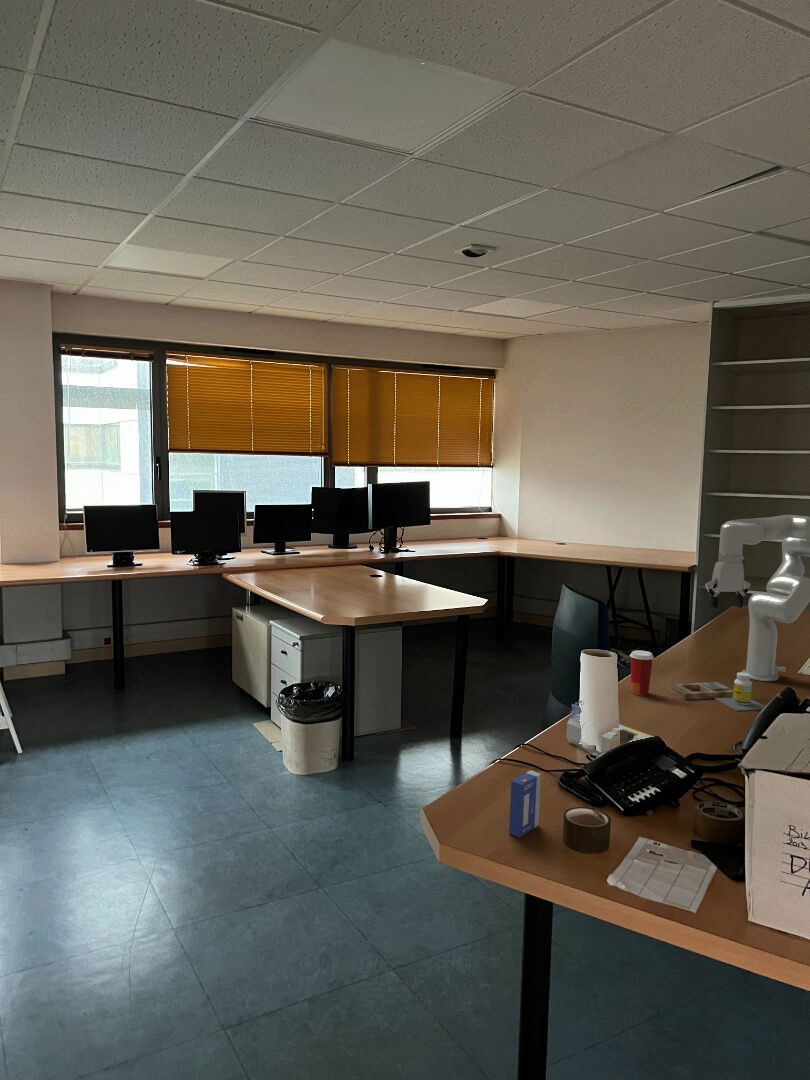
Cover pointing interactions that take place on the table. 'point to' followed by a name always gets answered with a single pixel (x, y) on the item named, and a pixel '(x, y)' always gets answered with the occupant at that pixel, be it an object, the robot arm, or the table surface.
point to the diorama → (625, 735)
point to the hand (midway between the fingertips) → (726, 607)
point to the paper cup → (640, 672)
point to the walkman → (524, 803)
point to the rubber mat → (737, 707)
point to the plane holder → (700, 690)
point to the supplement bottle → (742, 689)
